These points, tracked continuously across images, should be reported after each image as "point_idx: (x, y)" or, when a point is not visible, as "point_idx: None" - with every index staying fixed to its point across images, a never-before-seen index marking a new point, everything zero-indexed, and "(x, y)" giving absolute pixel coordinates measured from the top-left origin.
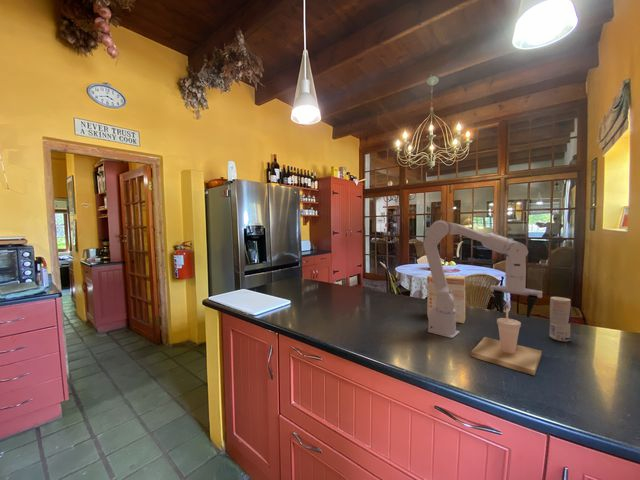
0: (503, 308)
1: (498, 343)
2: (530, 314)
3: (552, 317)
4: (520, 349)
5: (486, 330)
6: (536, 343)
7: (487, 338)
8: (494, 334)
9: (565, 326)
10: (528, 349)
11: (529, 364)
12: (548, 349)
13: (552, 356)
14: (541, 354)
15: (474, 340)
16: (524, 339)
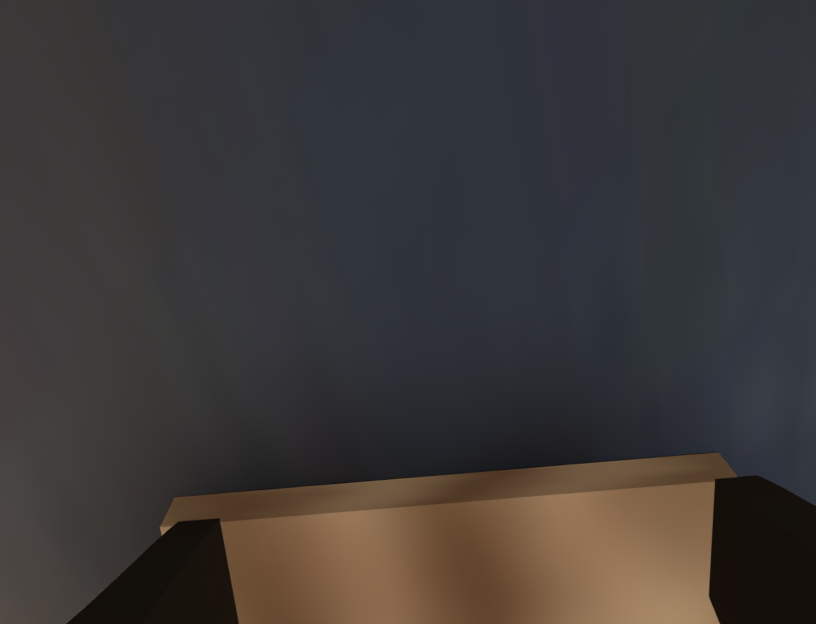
0: (201, 583)
1: (346, 602)
2: (786, 491)
3: None
4: (559, 594)
5: (3, 102)
6: (638, 112)
7: None
8: (152, 187)
9: None
10: (624, 543)
11: None
12: (769, 220)
13: (806, 398)
14: None
15: (94, 559)
16: (495, 73)
